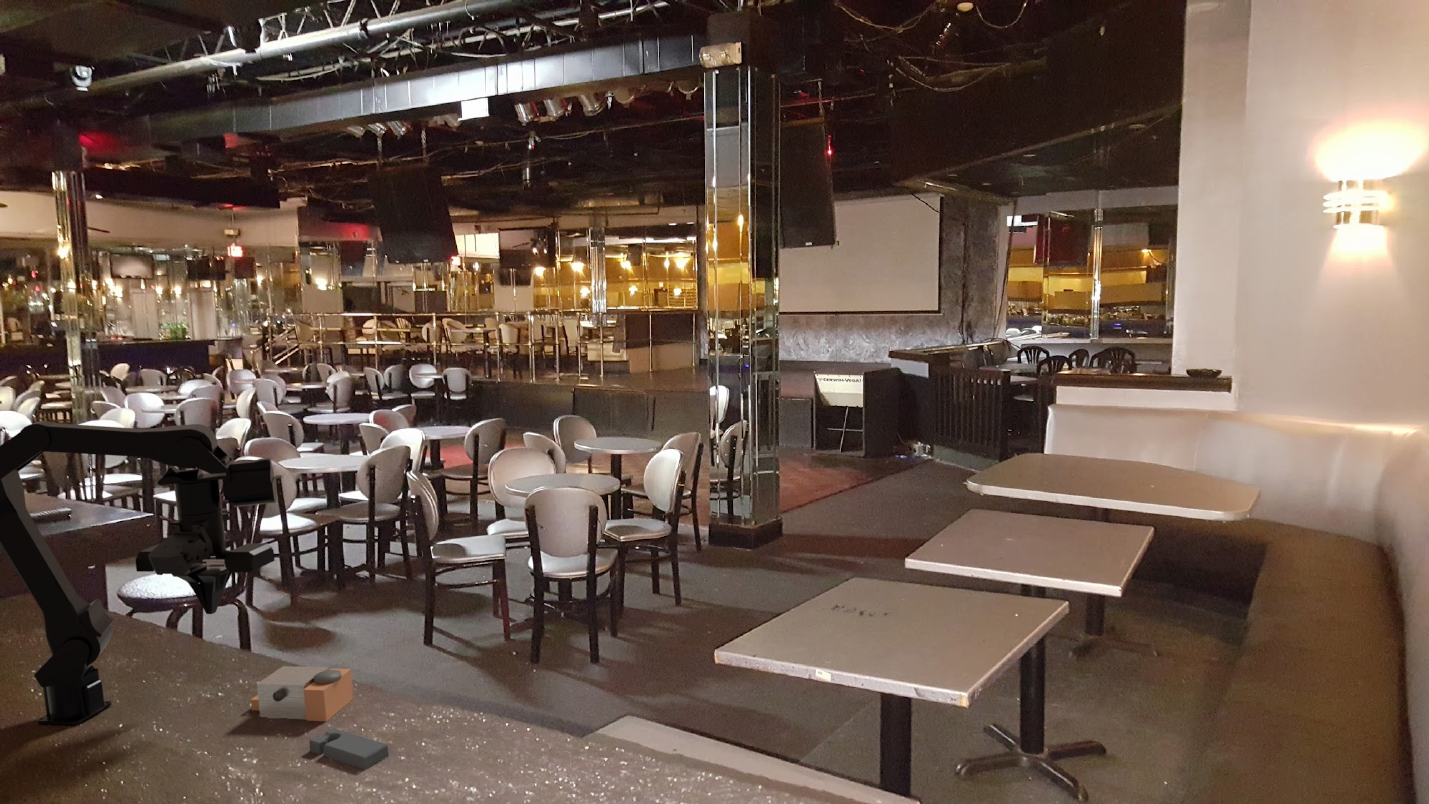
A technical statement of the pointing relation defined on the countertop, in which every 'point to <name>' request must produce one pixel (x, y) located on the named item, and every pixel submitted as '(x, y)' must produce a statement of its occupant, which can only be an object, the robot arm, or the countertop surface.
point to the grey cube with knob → (286, 692)
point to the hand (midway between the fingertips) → (211, 613)
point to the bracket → (349, 748)
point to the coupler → (324, 694)
